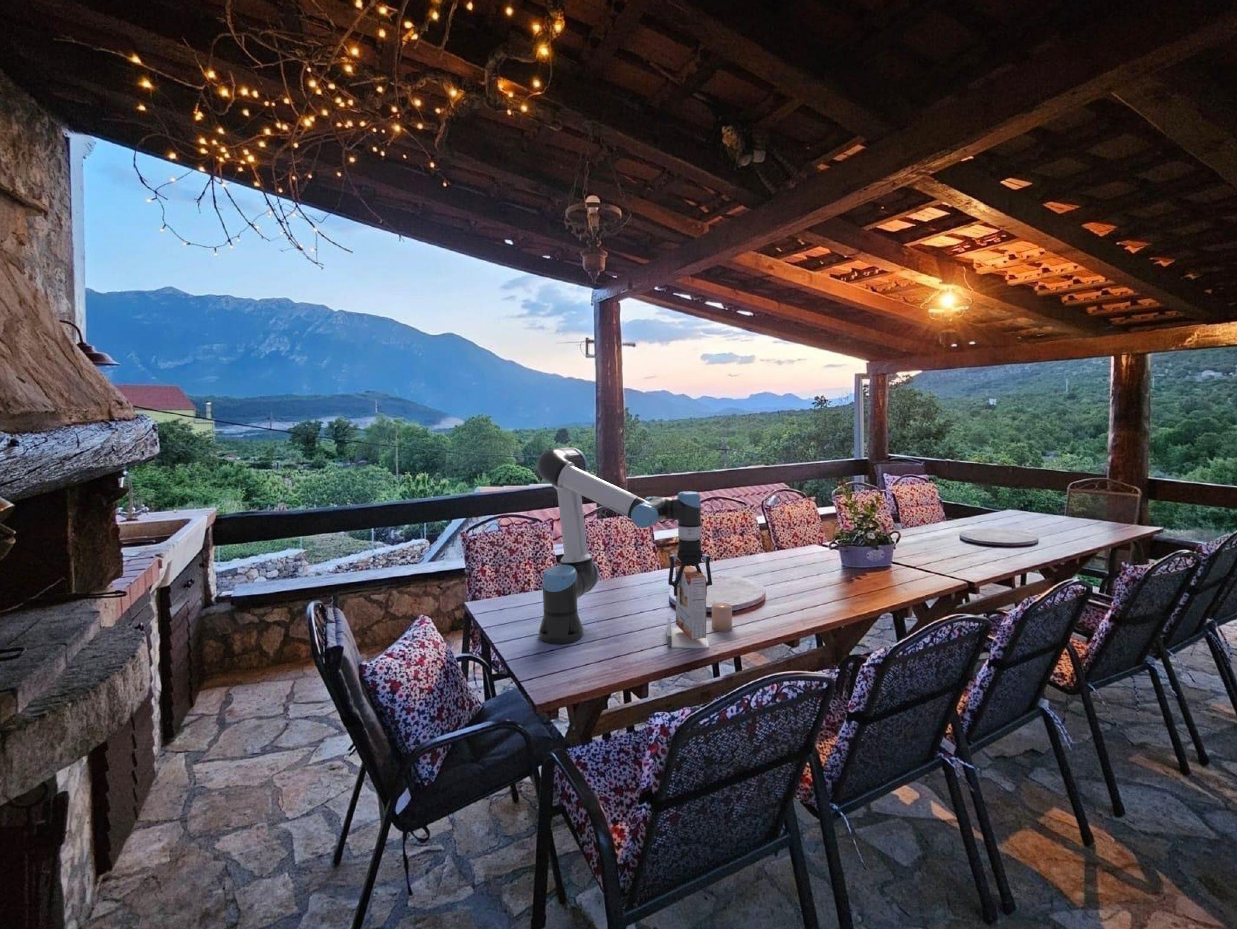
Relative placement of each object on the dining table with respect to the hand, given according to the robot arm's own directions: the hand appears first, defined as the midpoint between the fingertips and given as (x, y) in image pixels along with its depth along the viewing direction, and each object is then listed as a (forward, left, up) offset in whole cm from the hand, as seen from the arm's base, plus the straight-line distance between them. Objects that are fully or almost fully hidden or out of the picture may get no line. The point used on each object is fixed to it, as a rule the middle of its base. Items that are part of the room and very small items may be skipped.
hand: (690, 605), depth 186 cm
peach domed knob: (+11, +10, -12) cm, 19 cm away
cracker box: (0, 0, -9) cm, 9 cm away
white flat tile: (-1, 0, -11) cm, 11 cm away
